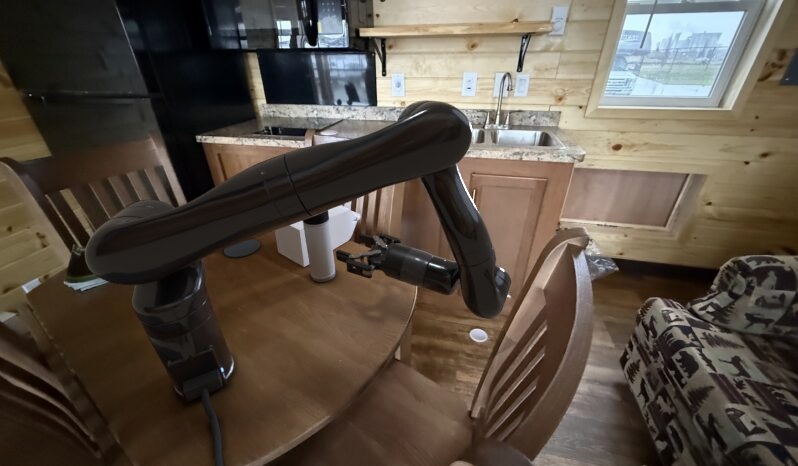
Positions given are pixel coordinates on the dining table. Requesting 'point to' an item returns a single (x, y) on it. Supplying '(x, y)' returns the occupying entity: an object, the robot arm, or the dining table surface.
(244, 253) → the coaster
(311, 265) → the travel mug
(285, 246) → the white box
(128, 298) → the dining table surface
